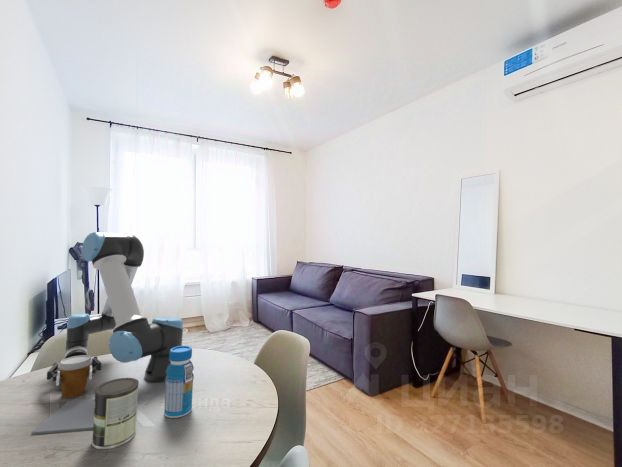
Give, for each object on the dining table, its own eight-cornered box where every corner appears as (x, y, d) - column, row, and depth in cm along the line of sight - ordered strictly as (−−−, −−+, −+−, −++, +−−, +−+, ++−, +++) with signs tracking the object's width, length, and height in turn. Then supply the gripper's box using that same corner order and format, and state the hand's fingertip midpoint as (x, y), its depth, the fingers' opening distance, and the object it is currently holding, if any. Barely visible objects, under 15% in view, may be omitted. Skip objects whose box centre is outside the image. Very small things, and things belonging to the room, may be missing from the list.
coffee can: (82, 450, 77) (85, 394, 78) (106, 427, 87) (109, 377, 88) (124, 449, 78) (127, 393, 79) (142, 426, 88) (145, 377, 89)
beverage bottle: (163, 421, 90) (167, 354, 91) (163, 408, 98) (166, 346, 99) (193, 415, 94) (196, 350, 95) (190, 402, 102) (193, 343, 103)
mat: (128, 397, 104) (128, 396, 104) (103, 428, 86) (103, 426, 86) (70, 401, 101) (70, 400, 101) (31, 434, 83) (31, 432, 83)
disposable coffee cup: (96, 390, 109) (98, 356, 110) (68, 402, 100) (70, 366, 101) (78, 385, 112) (80, 353, 113) (49, 397, 103) (51, 362, 104)
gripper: (106, 362, 127) (110, 381, 109) (40, 374, 114) (32, 398, 96) (107, 344, 127) (111, 360, 109) (41, 354, 115) (34, 374, 97)
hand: (74, 378), depth 103 cm, fingers closed on disposable coffee cup, 8 cm apart
